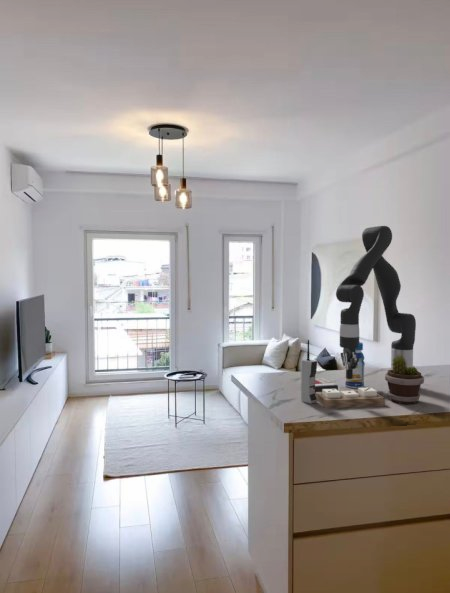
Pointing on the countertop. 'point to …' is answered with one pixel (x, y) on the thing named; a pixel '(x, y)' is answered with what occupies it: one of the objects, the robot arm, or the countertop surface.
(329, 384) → the calculator
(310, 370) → the vintage mobile phone
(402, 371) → the flowerpot
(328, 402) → the wooden tray
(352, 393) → the button one
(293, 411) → the countertop surface
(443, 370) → the countertop surface
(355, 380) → the beverage bottle
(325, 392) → the button two
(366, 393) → the button three
